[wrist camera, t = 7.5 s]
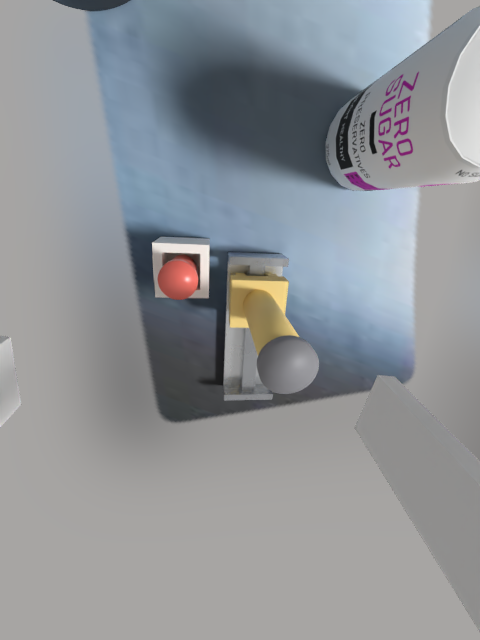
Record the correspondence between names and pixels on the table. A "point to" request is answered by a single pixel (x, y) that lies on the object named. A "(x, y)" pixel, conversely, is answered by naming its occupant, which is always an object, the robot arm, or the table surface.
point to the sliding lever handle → (272, 332)
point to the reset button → (178, 277)
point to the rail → (246, 331)
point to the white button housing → (176, 246)
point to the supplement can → (415, 119)
